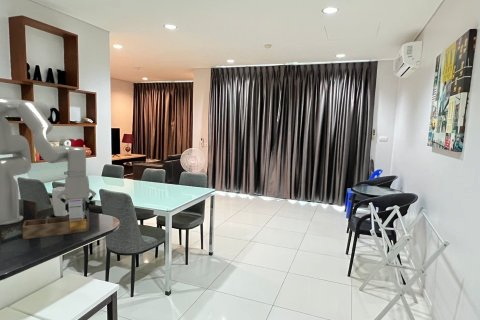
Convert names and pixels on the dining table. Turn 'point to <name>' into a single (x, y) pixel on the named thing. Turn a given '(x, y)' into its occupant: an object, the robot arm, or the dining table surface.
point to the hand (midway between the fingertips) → (77, 210)
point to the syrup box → (76, 209)
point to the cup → (58, 202)
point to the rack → (53, 227)
